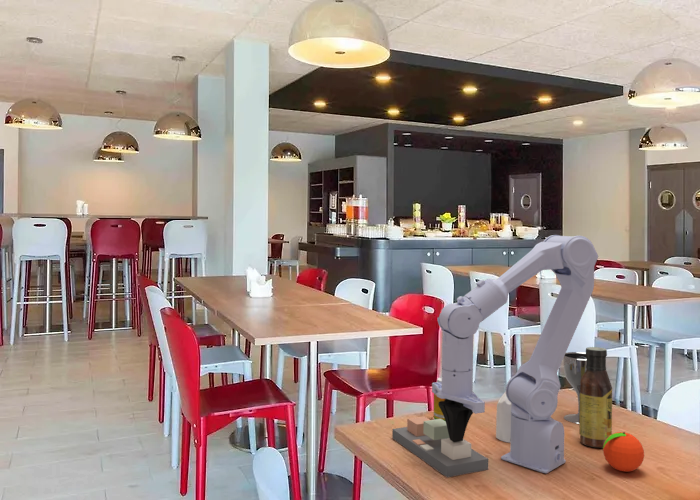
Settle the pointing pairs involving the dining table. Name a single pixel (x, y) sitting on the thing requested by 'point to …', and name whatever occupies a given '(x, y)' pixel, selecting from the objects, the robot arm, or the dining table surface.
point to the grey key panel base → (439, 454)
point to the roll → (503, 419)
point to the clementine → (623, 451)
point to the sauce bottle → (595, 400)
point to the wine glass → (574, 376)
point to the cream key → (455, 449)
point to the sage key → (436, 429)
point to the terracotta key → (416, 425)
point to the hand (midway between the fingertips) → (456, 440)
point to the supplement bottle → (437, 410)
